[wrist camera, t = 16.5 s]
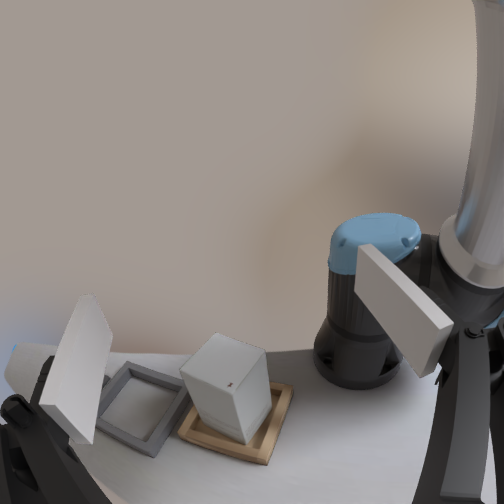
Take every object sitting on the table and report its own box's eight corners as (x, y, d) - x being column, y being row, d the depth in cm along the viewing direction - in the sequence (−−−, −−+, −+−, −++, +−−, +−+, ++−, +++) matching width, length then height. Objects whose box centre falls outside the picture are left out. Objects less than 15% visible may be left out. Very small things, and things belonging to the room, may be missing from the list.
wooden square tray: (216, 377, 45) (214, 369, 44) (292, 394, 41) (292, 385, 40) (181, 439, 35) (177, 432, 34) (267, 465, 31) (266, 459, 30)
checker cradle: (128, 367, 48) (124, 360, 47) (195, 390, 43) (192, 383, 42) (86, 420, 37) (80, 414, 36) (154, 458, 32) (149, 452, 31)
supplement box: (274, 407, 39) (268, 349, 33) (246, 447, 33) (231, 396, 27) (230, 389, 42) (215, 329, 37) (201, 424, 37) (176, 369, 31)
